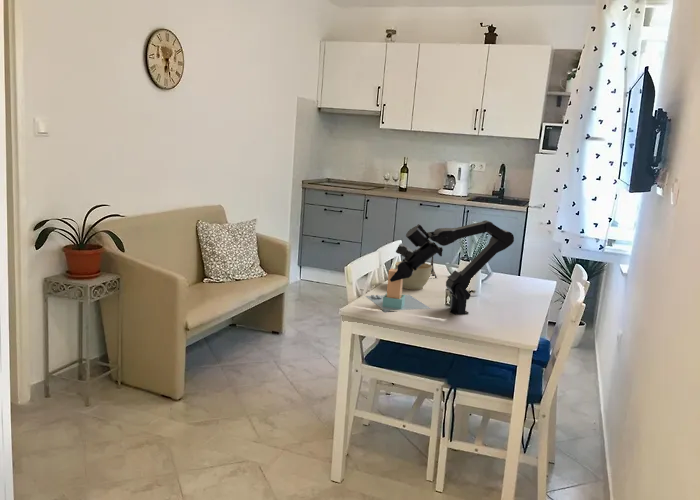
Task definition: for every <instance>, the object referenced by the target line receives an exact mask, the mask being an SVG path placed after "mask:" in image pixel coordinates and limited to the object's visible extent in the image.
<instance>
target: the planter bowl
mask: <svg viewBox="0 0 700 500" xmlns="http://www.w3.org/2000/svg"><path fill="white" fill-rule="evenodd" d="M402 261H403V260H402ZM402 261H397V262H395V263H394V264H395V269H398V264H400V263H401V262H402ZM431 269H432V266H431V263H430V264H429V263H428V262H427V263H426V262H425V263H424V264H422V265H421V266H420V267H418V268H417V270H415V271H413V274H412V276H410V277H409V278H404V279H403V285H402V289H407V290H415V291H417V290H422V289H423V288H424V287H425V285H426V284H427V282H429V280H430V278H429V277H430V276H431V275H432V274H431ZM413 270H414V269H413ZM430 274H431V275H430Z"/></svg>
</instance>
